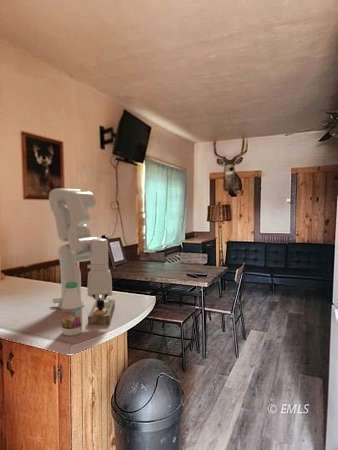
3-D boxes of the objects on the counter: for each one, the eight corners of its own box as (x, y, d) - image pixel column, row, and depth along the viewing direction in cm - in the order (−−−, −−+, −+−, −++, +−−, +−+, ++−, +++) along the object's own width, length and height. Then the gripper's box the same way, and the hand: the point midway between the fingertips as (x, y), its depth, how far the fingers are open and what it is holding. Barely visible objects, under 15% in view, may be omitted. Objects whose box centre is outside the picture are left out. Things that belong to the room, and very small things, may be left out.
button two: (96, 313, 142) (95, 302, 141) (97, 309, 146) (97, 298, 146) (107, 313, 142) (107, 301, 142) (108, 309, 147) (108, 298, 147)
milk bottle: (64, 329, 129) (63, 280, 128) (84, 328, 129) (83, 280, 128) (60, 336, 121) (58, 285, 120) (80, 336, 122) (79, 285, 121)
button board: (88, 325, 132) (87, 316, 132) (96, 307, 156) (96, 299, 155) (109, 325, 133) (109, 315, 133) (114, 307, 156) (114, 299, 156)
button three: (93, 322, 134) (93, 311, 134) (95, 318, 139) (95, 307, 139) (105, 322, 135) (105, 310, 134) (106, 318, 140) (106, 307, 139)
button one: (98, 308, 149) (98, 297, 149) (100, 304, 154) (99, 294, 154) (109, 307, 149) (109, 297, 149) (110, 304, 154) (110, 294, 154)
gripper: (80, 269, 131) (81, 312, 132) (116, 268, 132) (117, 311, 133) (83, 266, 139) (84, 307, 139) (117, 265, 140) (118, 305, 141)
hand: (100, 309), depth 136 cm, fingers closed
